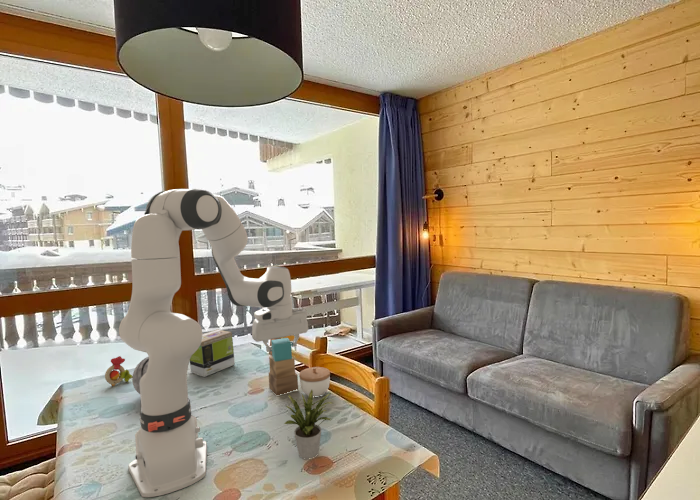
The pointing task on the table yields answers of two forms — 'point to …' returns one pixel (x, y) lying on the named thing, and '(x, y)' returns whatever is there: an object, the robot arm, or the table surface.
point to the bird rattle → (117, 372)
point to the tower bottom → (283, 384)
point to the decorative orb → (139, 373)
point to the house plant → (308, 425)
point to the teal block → (281, 349)
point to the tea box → (213, 353)
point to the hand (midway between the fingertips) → (281, 348)
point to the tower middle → (282, 367)
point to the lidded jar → (315, 380)
